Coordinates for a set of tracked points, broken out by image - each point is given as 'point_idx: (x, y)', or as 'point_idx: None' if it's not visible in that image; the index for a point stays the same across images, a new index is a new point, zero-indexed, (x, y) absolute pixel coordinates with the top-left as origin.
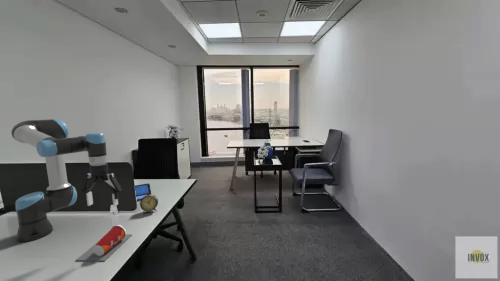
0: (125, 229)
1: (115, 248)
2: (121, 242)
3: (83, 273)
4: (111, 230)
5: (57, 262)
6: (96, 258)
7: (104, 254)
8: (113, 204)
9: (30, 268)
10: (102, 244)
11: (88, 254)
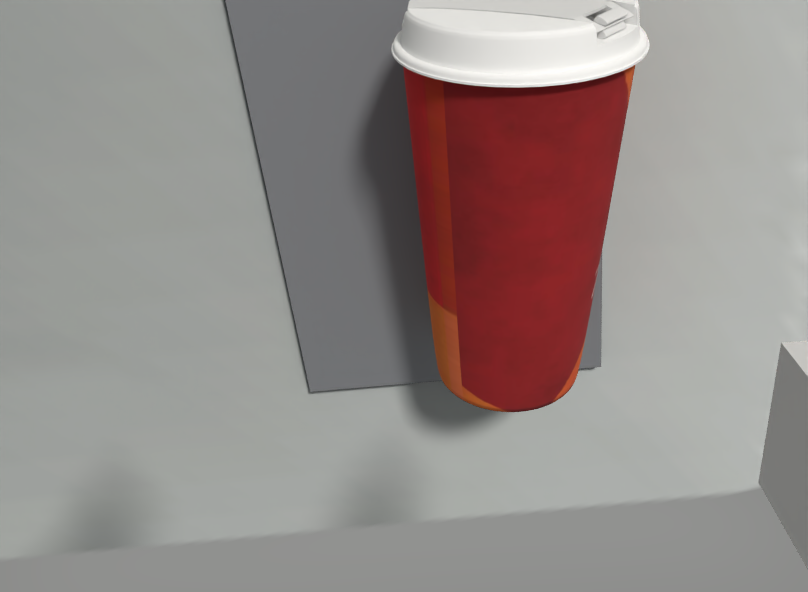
0: (636, 4)
1: None
2: None
3: (526, 487)
4: (509, 187)
5: (164, 415)
6: None
7: None
8: (792, 523)
9: (29, 490)
10: (557, 382)
11: (358, 313)
